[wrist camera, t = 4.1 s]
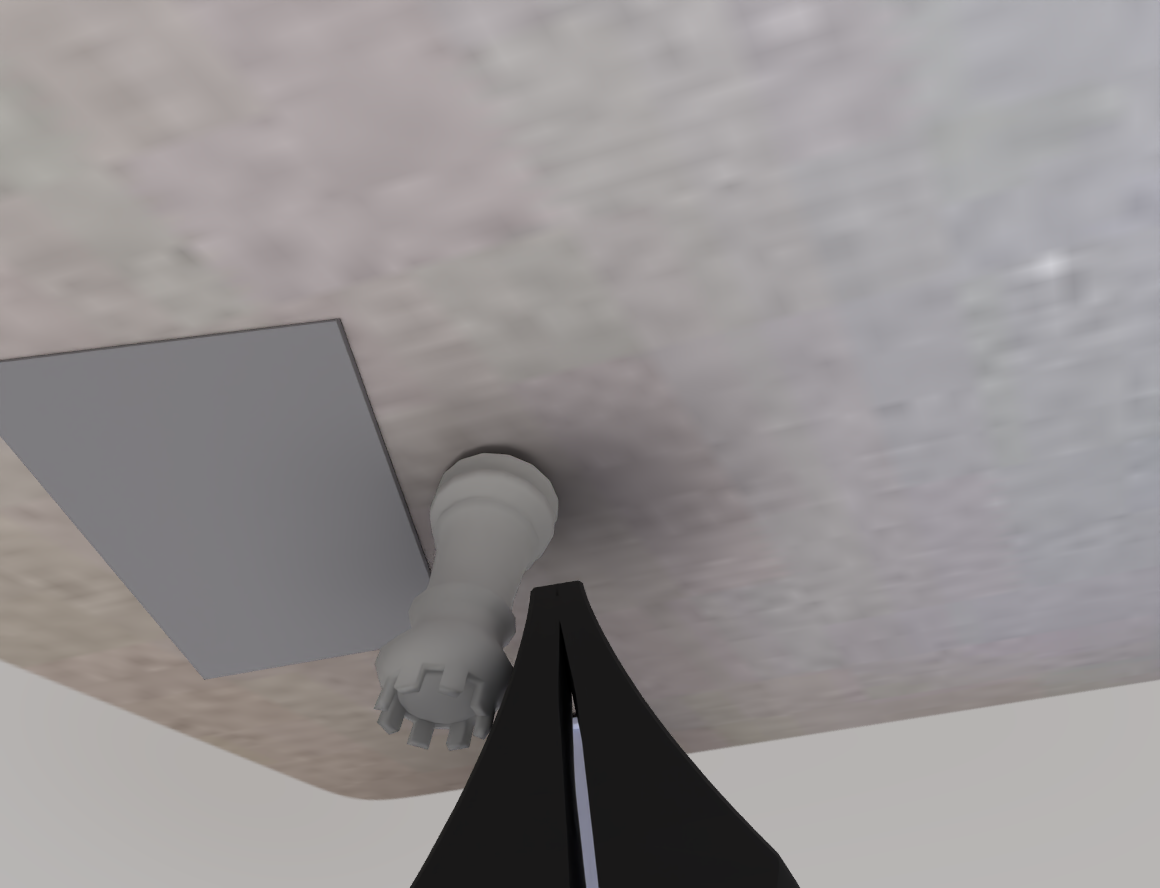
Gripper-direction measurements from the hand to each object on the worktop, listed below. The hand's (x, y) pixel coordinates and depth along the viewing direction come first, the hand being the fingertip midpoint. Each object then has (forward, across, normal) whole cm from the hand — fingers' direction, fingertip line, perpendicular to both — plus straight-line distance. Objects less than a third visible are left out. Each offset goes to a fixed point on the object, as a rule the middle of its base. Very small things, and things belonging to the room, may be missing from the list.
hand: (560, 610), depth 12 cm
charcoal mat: (+6, +10, 0) cm, 12 cm away
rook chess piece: (+6, +2, 0) cm, 6 cm away
